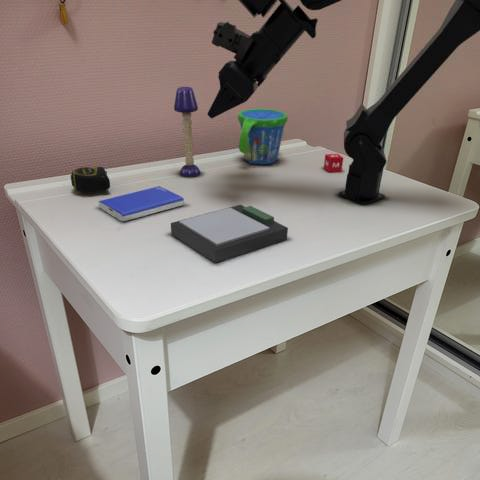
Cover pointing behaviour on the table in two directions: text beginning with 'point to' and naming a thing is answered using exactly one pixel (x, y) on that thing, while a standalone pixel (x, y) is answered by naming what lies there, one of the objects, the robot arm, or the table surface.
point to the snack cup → (261, 134)
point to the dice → (333, 162)
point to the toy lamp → (187, 127)
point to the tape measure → (90, 179)
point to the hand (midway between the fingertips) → (214, 111)
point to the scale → (229, 232)
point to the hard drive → (141, 203)
